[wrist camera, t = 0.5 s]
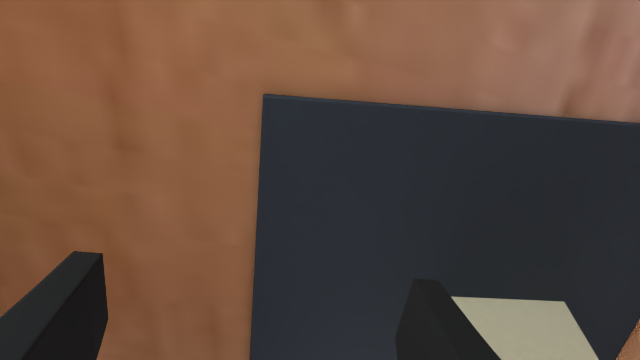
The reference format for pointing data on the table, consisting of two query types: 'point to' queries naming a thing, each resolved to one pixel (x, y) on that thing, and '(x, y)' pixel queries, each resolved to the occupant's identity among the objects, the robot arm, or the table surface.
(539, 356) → the tea box
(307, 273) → the mat
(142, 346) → the table surface
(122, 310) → the table surface
